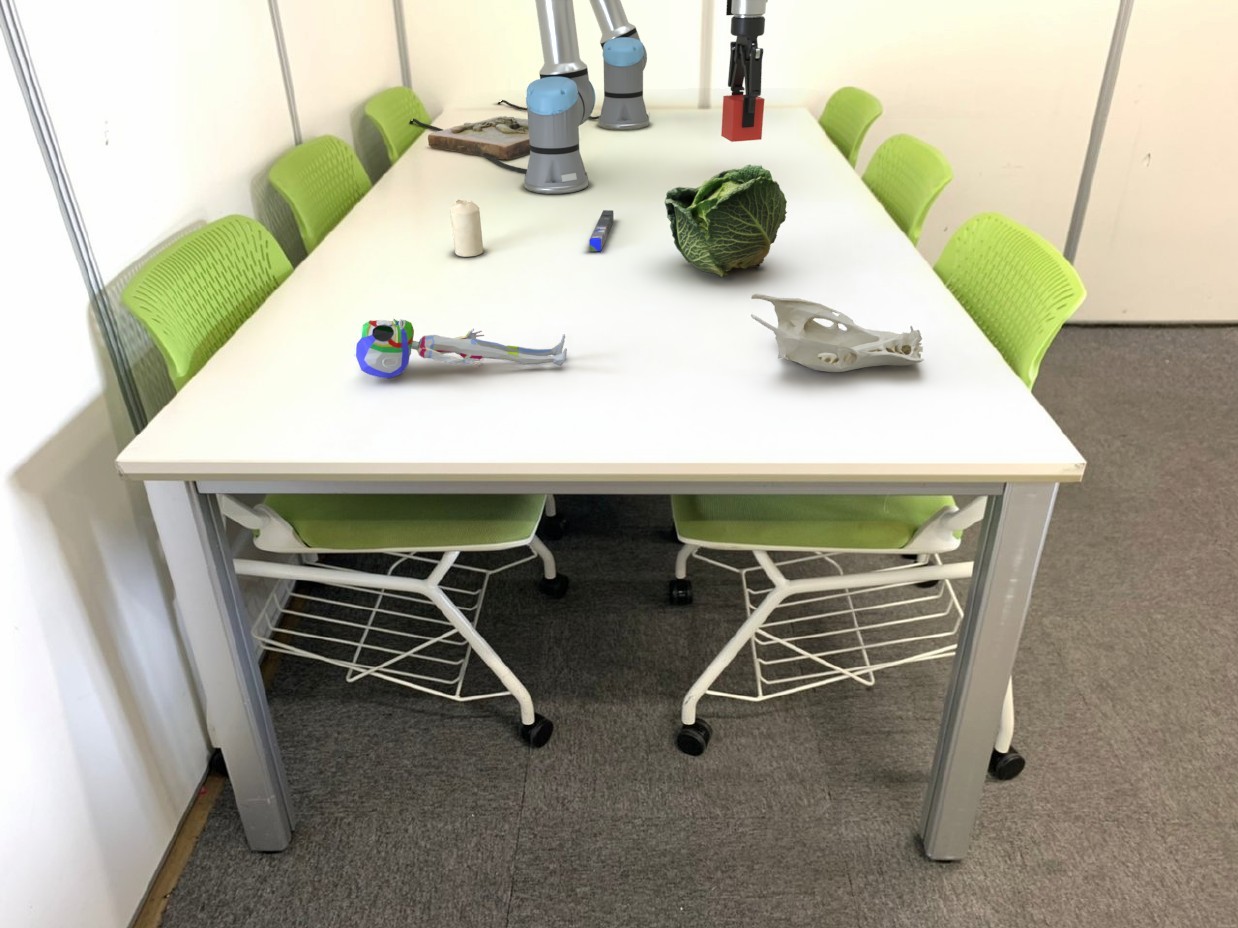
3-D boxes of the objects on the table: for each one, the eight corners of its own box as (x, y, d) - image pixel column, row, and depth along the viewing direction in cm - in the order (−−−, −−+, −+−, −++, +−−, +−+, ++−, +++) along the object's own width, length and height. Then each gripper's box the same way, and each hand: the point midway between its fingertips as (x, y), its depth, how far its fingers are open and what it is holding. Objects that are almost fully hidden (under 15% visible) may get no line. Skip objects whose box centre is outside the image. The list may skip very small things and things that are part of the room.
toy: (569, 347, 126) (349, 329, 122) (563, 400, 131) (350, 385, 126) (565, 318, 135) (359, 301, 130) (559, 369, 139) (360, 354, 134)
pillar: (613, 210, 190) (600, 241, 173) (613, 220, 191) (600, 251, 174) (603, 210, 190) (589, 240, 173) (603, 220, 191) (589, 251, 174)
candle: (488, 249, 176) (483, 198, 171) (475, 258, 172) (470, 206, 167) (463, 246, 178) (457, 196, 173) (450, 255, 174) (443, 204, 168)
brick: (731, 142, 210) (733, 101, 205) (721, 136, 216) (723, 96, 211) (761, 139, 212) (764, 99, 207) (750, 133, 217) (753, 94, 212)
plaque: (505, 133, 232) (424, 120, 247) (507, 161, 236) (427, 146, 250) (578, 114, 253) (499, 103, 268) (578, 140, 256) (500, 128, 271)
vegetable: (694, 294, 173) (643, 202, 166) (775, 239, 175) (728, 145, 167) (734, 307, 155) (678, 205, 147) (824, 245, 156) (773, 141, 149)
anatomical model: (752, 284, 135) (923, 286, 131) (750, 340, 140) (914, 344, 136) (749, 325, 123) (938, 328, 119) (747, 384, 127) (928, 390, 124)
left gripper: (782, 19, 193) (773, 131, 205) (746, 10, 208) (740, 114, 221) (749, 21, 191) (742, 133, 203) (716, 12, 207) (712, 116, 219)
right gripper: (772, -65, 244) (767, 21, 256) (739, -67, 265) (735, 12, 276) (746, -64, 243) (742, 22, 254) (715, -67, 263) (712, 13, 275)
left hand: (741, 123), depth 212 cm, fingers closed on brick, 7 cm apart
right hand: (738, 17), depth 265 cm, fingers open, 13 cm apart
